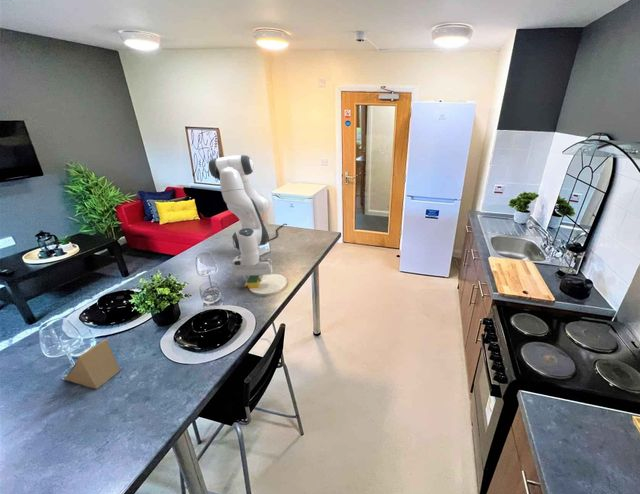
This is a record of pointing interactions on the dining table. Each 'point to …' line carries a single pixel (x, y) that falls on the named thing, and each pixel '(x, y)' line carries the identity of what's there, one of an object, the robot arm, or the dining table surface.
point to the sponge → (253, 281)
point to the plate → (270, 284)
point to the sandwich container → (94, 366)
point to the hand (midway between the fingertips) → (254, 281)
